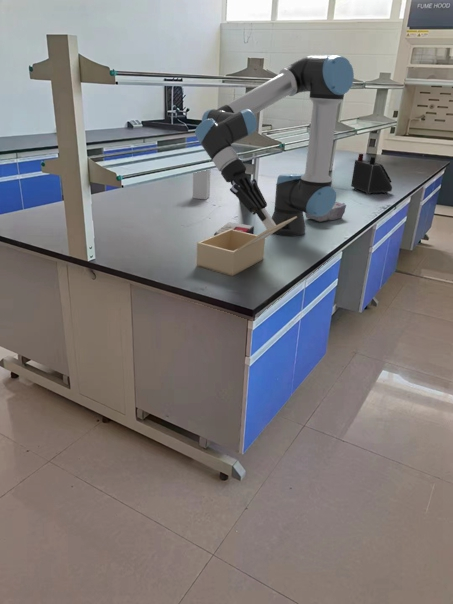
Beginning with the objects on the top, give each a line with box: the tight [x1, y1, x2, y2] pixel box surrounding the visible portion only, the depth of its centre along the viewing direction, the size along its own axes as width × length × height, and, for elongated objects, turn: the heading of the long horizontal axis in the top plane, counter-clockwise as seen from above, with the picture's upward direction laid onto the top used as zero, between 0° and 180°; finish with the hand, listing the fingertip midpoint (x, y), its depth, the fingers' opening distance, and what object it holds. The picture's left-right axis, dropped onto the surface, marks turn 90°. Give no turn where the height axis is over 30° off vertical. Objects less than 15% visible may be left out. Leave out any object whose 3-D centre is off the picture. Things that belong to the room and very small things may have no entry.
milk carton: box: [192, 169, 211, 200], centre depth 242 cm, size 7×7×19 cm
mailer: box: [196, 229, 266, 277], centre depth 163 cm, size 20×14×8 cm
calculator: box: [213, 222, 255, 236], centre depth 189 cm, size 11×4×15 cm
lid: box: [234, 216, 297, 253], centre depth 153 cm, size 20×14×1 cm
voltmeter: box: [350, 153, 393, 195], centre depth 276 cm, size 16×16×20 cm
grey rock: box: [304, 200, 347, 223], centre depth 220 cm, size 13×11×20 cm
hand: (272, 227), depth 151 cm, fingers closed
